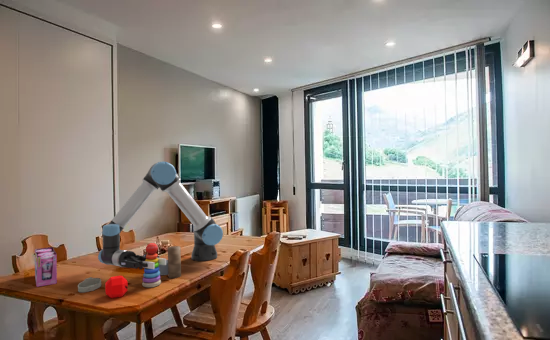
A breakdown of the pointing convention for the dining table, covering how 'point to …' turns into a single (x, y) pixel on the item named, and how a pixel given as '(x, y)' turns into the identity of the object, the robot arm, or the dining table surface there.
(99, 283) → the grey oval piece
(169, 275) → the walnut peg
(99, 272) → the dining table surface
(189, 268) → the dining table surface
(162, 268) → the grey cube
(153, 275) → the stacking toy
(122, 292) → the ball
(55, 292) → the dining table surface
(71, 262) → the dining table surface
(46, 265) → the gum box
